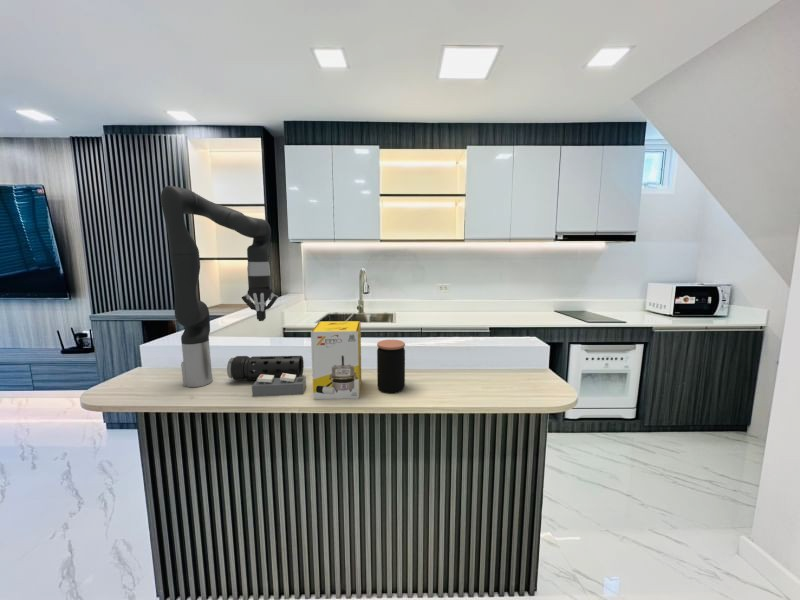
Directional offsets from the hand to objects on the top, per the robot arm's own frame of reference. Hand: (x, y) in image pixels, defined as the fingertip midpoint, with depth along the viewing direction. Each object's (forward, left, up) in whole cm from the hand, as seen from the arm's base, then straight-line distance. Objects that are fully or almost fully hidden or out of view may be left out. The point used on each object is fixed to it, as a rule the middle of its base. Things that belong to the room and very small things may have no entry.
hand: (261, 320), depth 123 cm
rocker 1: (+1, -3, -22) cm, 23 cm away
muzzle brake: (-2, +9, -27) cm, 29 cm away
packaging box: (+28, -4, -27) cm, 39 cm away
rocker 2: (+9, -3, -22) cm, 24 cm away
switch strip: (+6, -3, -27) cm, 28 cm away
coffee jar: (+48, -5, -27) cm, 55 cm away
